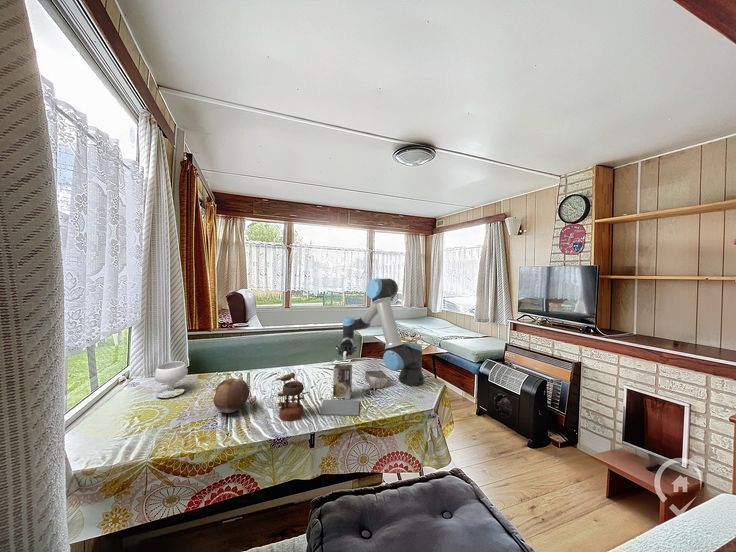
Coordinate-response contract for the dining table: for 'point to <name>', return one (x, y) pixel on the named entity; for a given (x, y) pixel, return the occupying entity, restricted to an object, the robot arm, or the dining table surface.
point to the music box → (291, 409)
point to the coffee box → (342, 381)
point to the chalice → (171, 373)
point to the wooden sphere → (231, 395)
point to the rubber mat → (340, 408)
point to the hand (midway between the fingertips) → (344, 357)
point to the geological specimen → (376, 379)
